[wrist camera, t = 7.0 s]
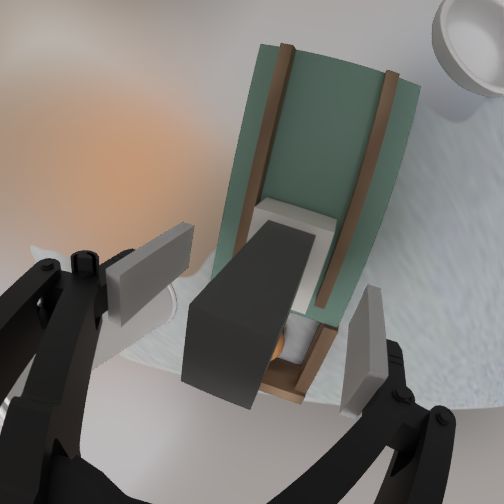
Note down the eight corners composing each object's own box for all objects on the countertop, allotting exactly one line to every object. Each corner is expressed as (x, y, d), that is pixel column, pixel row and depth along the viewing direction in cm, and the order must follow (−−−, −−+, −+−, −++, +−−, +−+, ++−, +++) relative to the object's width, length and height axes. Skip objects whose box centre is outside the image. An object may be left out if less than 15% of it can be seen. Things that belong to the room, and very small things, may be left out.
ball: (292, 323, 29) (288, 336, 25) (278, 358, 30) (272, 375, 26) (253, 309, 30) (243, 319, 26) (241, 344, 30) (230, 359, 26)
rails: (396, 77, 16) (399, 73, 15) (325, 301, 23) (324, 309, 22) (284, 47, 17) (280, 43, 16) (233, 269, 25) (228, 275, 24)
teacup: (463, 118, 18) (491, 116, 13) (402, 35, 17) (414, 11, 12) (534, 68, 13) (567, 60, 8) (479, -7, 12) (501, -31, 7)
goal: (340, 308, 26) (337, 335, 23) (307, 376, 30) (300, 404, 27) (223, 267, 28) (204, 287, 25) (209, 340, 32) (193, 363, 29)
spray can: (131, 339, 37) (2, 472, 15) (84, 271, 35) (-70, 380, 13) (190, 311, 32) (25, 501, 10) (132, 226, 30) (-86, 362, 8)
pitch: (412, 91, 18) (420, 86, 16) (339, 308, 26) (337, 327, 24) (271, 53, 20) (260, 43, 18) (224, 268, 28) (210, 282, 26)
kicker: (336, 219, 20) (312, 337, 9) (311, 293, 23) (264, 435, 11) (267, 197, 21) (164, 281, 10) (249, 271, 24) (159, 391, 12)
